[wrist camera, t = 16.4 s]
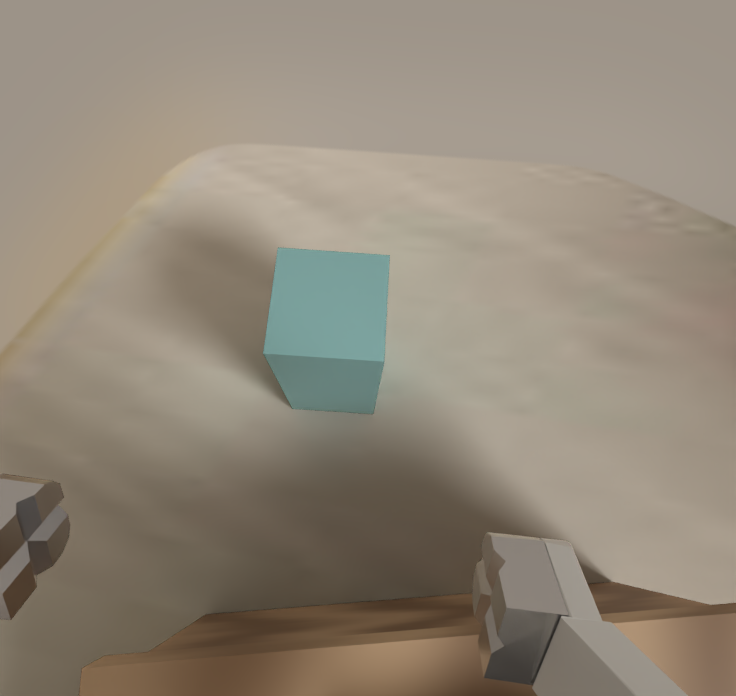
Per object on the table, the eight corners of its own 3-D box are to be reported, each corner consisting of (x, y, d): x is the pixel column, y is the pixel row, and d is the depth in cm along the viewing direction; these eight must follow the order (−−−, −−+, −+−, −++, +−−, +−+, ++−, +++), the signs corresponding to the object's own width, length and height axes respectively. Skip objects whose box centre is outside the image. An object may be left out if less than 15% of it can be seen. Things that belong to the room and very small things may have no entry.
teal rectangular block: (377, 338, 26) (389, 255, 18) (373, 413, 24) (384, 361, 16) (300, 333, 26) (278, 247, 17) (292, 408, 24) (263, 353, 16)
